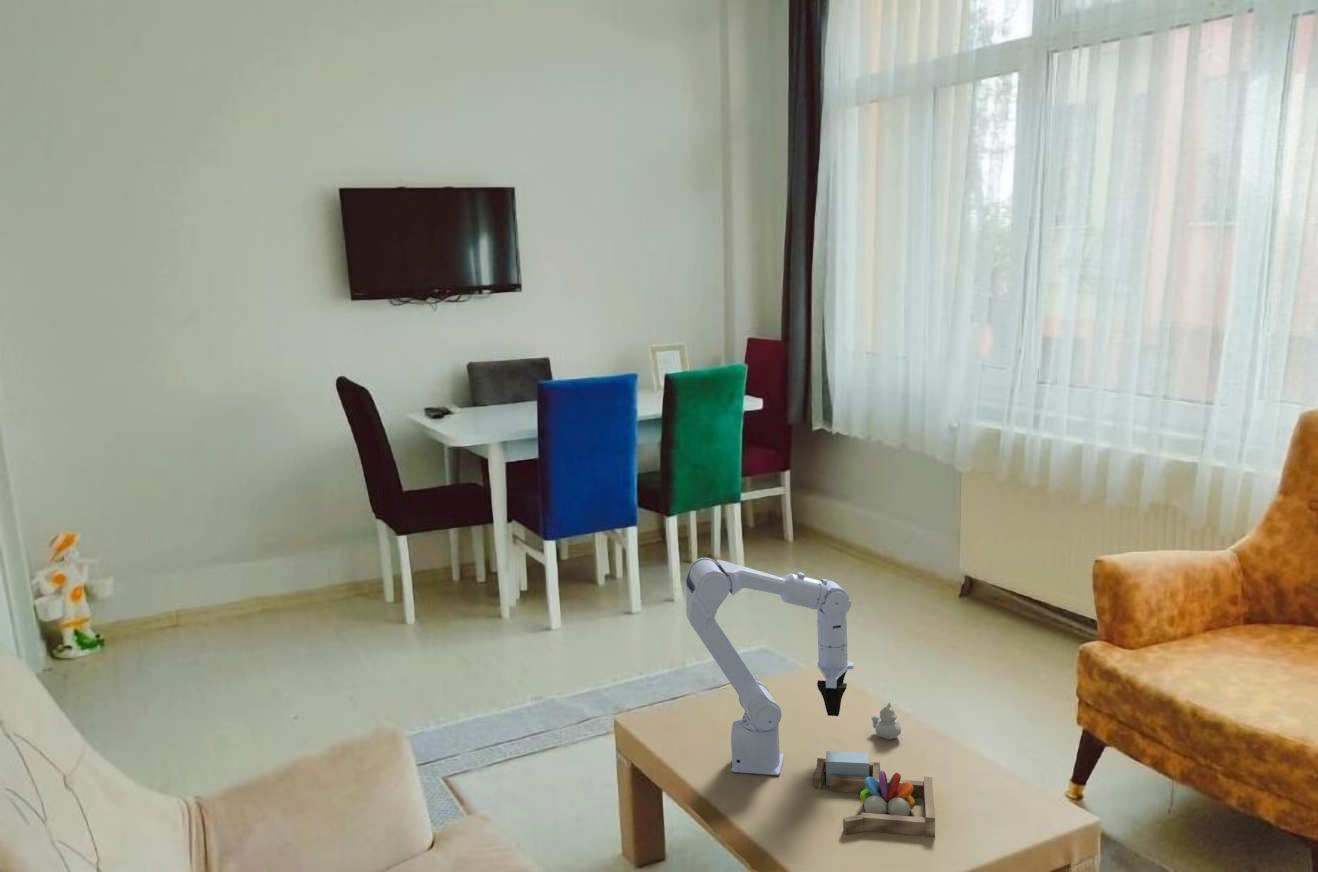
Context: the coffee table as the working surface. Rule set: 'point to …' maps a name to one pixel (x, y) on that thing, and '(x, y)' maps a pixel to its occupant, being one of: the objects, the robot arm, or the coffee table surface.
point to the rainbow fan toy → (887, 795)
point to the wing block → (846, 764)
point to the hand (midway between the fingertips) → (834, 706)
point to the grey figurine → (886, 723)
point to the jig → (882, 820)
